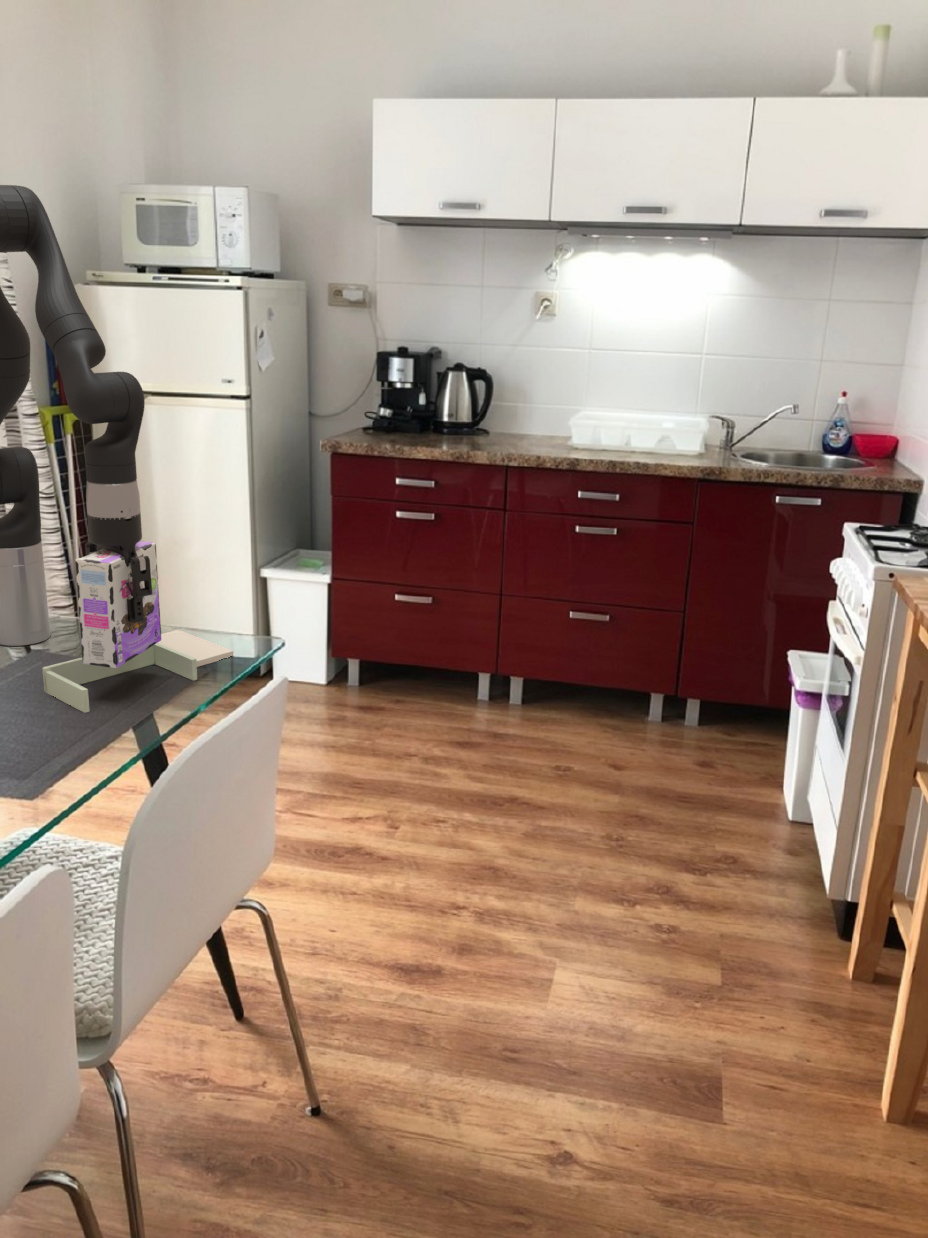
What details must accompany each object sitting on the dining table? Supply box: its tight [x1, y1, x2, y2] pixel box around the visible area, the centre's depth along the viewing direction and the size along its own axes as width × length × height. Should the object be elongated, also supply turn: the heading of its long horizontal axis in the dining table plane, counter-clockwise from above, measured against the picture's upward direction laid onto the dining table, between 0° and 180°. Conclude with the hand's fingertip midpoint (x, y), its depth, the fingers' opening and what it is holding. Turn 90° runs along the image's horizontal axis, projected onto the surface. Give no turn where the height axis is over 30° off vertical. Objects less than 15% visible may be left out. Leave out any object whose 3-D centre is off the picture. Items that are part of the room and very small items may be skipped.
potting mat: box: [158, 629, 234, 668], centre depth 179 cm, size 16×10×1 cm, turn 49°
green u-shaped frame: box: [42, 643, 198, 714], centre depth 163 cm, size 12×20×4 cm, turn 139°
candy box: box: [74, 540, 162, 668], centre depth 159 cm, size 14×6×16 cm, turn 167°
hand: (120, 615), depth 160 cm, fingers closed on candy box, 8 cm apart
